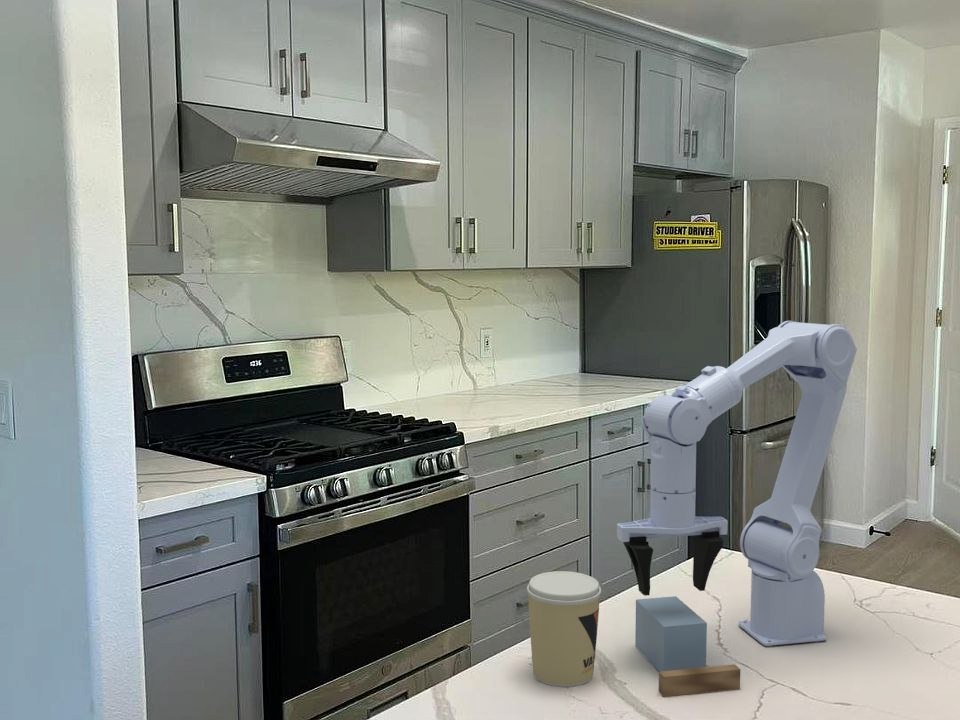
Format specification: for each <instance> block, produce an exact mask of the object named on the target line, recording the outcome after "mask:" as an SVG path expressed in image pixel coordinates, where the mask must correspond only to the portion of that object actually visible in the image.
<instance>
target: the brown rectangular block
mask: <svg viewBox="0 0 960 720" xmlns="http://www.w3.org/2000/svg"><path fill="white" fill-rule="evenodd" d="M740 689H741V668H740V667H738V666H737V665H736V664H735V663H734V664H733V663H732V664H725V665H724V664H723V665H714V666H706V667H702V668H692V669H681V670H671V671H661V672H658V692H659V694H660V695H661V696H662V697H663V698H665V697H666V698H667V697H674V696H675V697H676V696H684V695H693V694H704V693H713V691H714V692H723V691H724V690H725V691H734V690H740Z"/></svg>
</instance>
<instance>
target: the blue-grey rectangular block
mask: <svg viewBox="0 0 960 720" xmlns="http://www.w3.org/2000/svg"><path fill="white" fill-rule="evenodd" d="M707 630H708V622H706V621H705V620H704V619H703V618H702V617H701V616H700V615H698V614H697V613H696V612H695V611H694V610H692V609H691V607H689V606H688V605H687V604H685V602H684V601H682V600H681V599H680V598H678V597H677V596H662V597H661V596H660V597H652V598H651V597H650V598H639V599H635V637H634V638H635V639H634V640H635V643H634V645H635V647H636V649H637V650H638V651H639V652H640V653H641V655H643V657H644V658H646V660H647V661H648V662H649V663H650V665H652V667H653V668H654V669H655V670H657V672H658V673H659V672H661V671H671V670H681V669H692V668H702V667H707V640H708V639H707V638H708V635H707V634H708V631H707Z"/></svg>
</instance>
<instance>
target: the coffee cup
mask: <svg viewBox="0 0 960 720" xmlns="http://www.w3.org/2000/svg"><path fill="white" fill-rule="evenodd" d="M526 593H527V595H528V597H527V598H528V616H529V618H528V619H529V632H530V633H529V634H530V635H529V636H530V646H531V647H530V649H531V650H530V651H531V661H532V662H531V663H532V671H533V672H532V673H533V676H534V677H535V678H536V680H538V681H539V682H541V683H543V684H547V685H550V686H554V687H563V688H568V687H577V686H578V687H579V686H581V685H584V684H587V683H589V682H590V681H591V680H592V678H593V677H594V673H595V672H594V671H595V662H596V649H597V638H598V629H599V628H598V625H599V614H600V597H601V596H602V588H601V586H600V583H599V581H598V580H597V579H596V578H595V577H593V576H590V575H587V574H585V573H581V572H576V571H575V572H574V571H568V570H567V571H564V570H563V571H561V570H559V571H557V570H556V571H548V572H542V573H539V574H536V575H535V576H532V577H531V579H530V580H529V583H528V584H527V587H526Z"/></svg>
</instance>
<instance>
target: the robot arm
mask: <svg viewBox="0 0 960 720" xmlns="http://www.w3.org/2000/svg"><path fill="white" fill-rule="evenodd" d="M857 351H858V348H857V346H856V344H855V341H854V340H853V336H852V335H851V333H850V331H849V329H848V328H847V327H845V326H844V325H842V324H838V323H832V324H824V323H814V322H813V323H812V322H811V323H810V322H797V321H794V320H785V321H783V322H781V323H780V324H779V325H778V326H776V327H773V328H772V329H769V331H768V334H767V337H766V338H765V339H763V340H762V341H761V342H759V343H758V344H757V345H755V346H754V347H753V348H752V349H750V350H748V352H747V353H745V354H744V355H743V356H741V357H739V358H738V359H737V360H736V361H734V362H733V363H732V364H731V365H729V366H728V367H727V368H726V367H723V366H721V365H715V366H709V365H707V366H706V367H704V368H703V369H701V374H700V375H698V376H697V377H696V378H694V379H692V380H691V381H689V382H687V383H686V384H685V385H681V384H680V385H678V386H677V387H676V388H675V391H674V392H673V393H672V394H671V395H668V394H667V395H666V394H660V395H657V396H656V397H655V398H653V399H652V400H651V401H650V402H649V403H648V404H647V406H646V408H645V411H644V413H643V414H644V415H643V416H641V417H640V421H641V426H642V427H641V428H643V429H642V430H643V431H644V432H645V434H646V435H647V438H648V447H650V502H649V503H650V504H649V505H650V506H649V507H650V508H649V509H650V511H649V512H650V513H649V516H650V517H649V518H643V519H639V520H634V521H629V522H622V523H617V524H616V538H617V539H618V540H619V541H620V542H621V543H623V545H624V547H625V549H626V551H627V554H628V555H629V558H630V561H631V563H632V566H633V570H634V573H635V577H636V581H637V586H638V591H639V592H640V594H642V595H643V596H650V595H651V565H652V564H651V563H652V559H653V553H654V549H653V548H652V547H651V546H650V545H649V541H647V539H649V540H650V539H661V538H677V537H678V538H679V537H688V536H690V540H691V547H692V548H691V549H692V559H693V560H692V561H693V563H692V564H693V565H692V566H693V567H692V584H693V587H695V588H696V589H697V590H698V591H699V592H703V591H705V590H706V585H707V582H708V579H709V576H710V572H711V568H712V566H713V565H714V562H715V560H716V558H717V556H718V555H719V554H720V551H721V550H722V549H723V547H724V539H723V537H720V536H722V535H723V536H725V535H728V525H729V524H728V523H729V521H728V519H726V518H724V517H722V516H697V515H696V498H697V497H696V495H697V493H696V489H697V488H696V486H697V485H696V483H697V480H696V478H697V476H696V475H697V442H700V441H701V439H702V438H703V437H704V435H705V433H706V431H707V428H708V426H710V424H712V421H714V420H715V419H717V418H718V417H719V416H722V414H724V413H725V412H727V411H728V410H730V409H731V408H733V407H735V406H736V405H737V404H739V403H740V402H741V400H742V397H743V390H744V389H746V388H747V387H749V386H751V385H752V384H755V383H756V382H758V381H760V380H762V379H763V378H765V377H767V376H768V375H770V374H772V373H774V372H775V371H777V370H779V369H780V368H783V369H784V370H785V372H786V373H788V375H789V376H790V377H791V378H792V379H793V380H794V381H795V382H796V383H797V384H798V387H799V388H800V390H801V393H802V396H801V398H800V402H799V405H798V409H797V411H796V415H795V417H794V421H793V425H792V428H791V431H790V434H789V437H788V441H787V444H786V448H785V451H784V454H783V458H782V461H781V463H780V464H781V465H780V467H779V470H778V474H777V477H776V480H775V483H774V486H773V490H772V493H771V496H770V498H769V499H767V500H766V501H764V502H762V503H761V504H759V505H757V506H756V507H755V508H754V509H753V510H752V511H753V512H752V515H751V517H750V519H749V521H748V522H747V523H746V525H744V527H743V530H742V531H741V534H740V540H739V547H740V552H741V554H742V555H743V556H744V557H745V559H747V567H748V568H750V569H751V575H750V577H751V578H750V581H751V582H750V584H751V585H750V613H749V614H750V619H749V620H742V621H738V624H737V625H738V626H739V628H742V629H743V630H744V631H745V632H746V633H748V634H749V635H750V636H751V637H752V638H753V639H755V640H756V641H758V643H760V644H762V645H763V646H765V647H768V646H769V647H770V646H778V645H789V644H799V643H811V642H821V641H822V642H823V641H826V640H827V636H826V635H825V634H824V631H825V630H824V629H825V628H824V626H825V602H826V600H825V599H826V598H825V597H826V596H825V595H826V594H825V589H824V588H825V587H824V584H823V582H822V581H823V580H822V579H821V577H820V576H819V573H817V572H816V571H815V568H816V566H817V565H818V562H819V559H820V539H821V534H822V531H823V530H822V527H821V526H820V524H819V523H818V521H817V520H816V518H815V516H814V515H813V514H812V512H811V509H812V506H813V503H814V499H815V495H816V493H817V489H818V486H819V483H820V480H821V477H822V473H823V469H824V467H825V463H826V459H827V457H828V454H829V453H828V452H829V450H830V447H831V443H832V440H833V436H834V433H835V429H836V426H837V424H838V420H839V417H840V413H841V410H842V407H843V403H844V400H845V397H846V393H847V388H848V387H847V386H848V380H849V376H850V374H851V370H852V367H853V363H854V361H855V360H854V359H855V357H856V354H857ZM782 523H785V524H787V525H789V526H790V527H791V528H790V527H787V526H784V525H781V524H782Z"/></svg>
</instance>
